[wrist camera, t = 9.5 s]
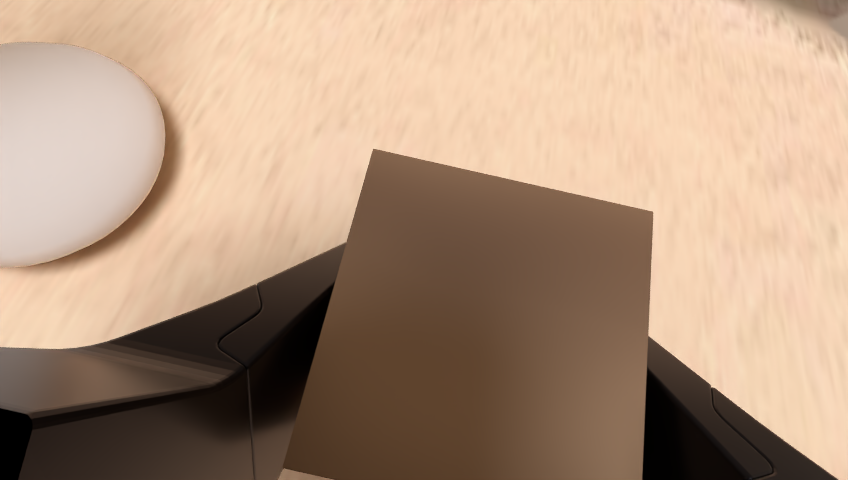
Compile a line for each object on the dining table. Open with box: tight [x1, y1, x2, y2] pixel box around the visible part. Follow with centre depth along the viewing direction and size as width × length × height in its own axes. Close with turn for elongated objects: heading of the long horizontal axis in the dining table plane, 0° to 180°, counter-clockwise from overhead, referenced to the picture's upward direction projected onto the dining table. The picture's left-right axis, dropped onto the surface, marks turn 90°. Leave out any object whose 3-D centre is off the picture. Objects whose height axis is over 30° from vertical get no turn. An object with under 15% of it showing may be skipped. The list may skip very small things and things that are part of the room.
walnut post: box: [282, 149, 653, 480], centre depth 10 cm, size 5×5×10 cm
